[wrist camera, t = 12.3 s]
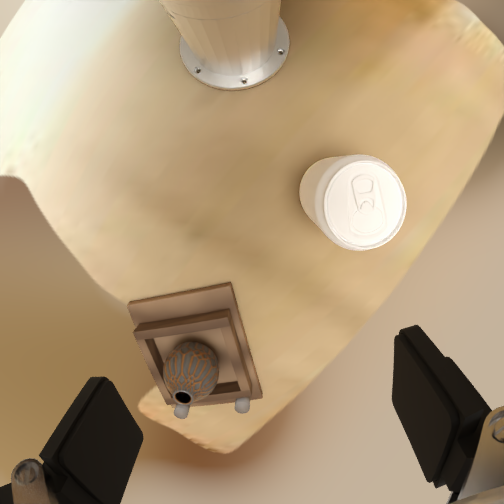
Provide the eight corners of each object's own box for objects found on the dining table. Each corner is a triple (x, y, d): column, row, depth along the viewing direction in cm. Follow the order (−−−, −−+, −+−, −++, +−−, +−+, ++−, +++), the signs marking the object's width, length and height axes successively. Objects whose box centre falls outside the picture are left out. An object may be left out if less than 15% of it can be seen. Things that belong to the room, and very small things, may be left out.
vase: (209, 382, 41) (199, 426, 32) (164, 361, 40) (145, 402, 31) (231, 348, 39) (224, 392, 30) (182, 324, 38) (164, 364, 30)
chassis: (130, 301, 39) (117, 315, 35) (230, 282, 38) (227, 296, 34) (174, 402, 44) (168, 420, 39) (262, 393, 42) (262, 412, 38)
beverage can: (304, 232, 36) (324, 263, 24) (292, 162, 34) (309, 160, 22) (369, 220, 35) (414, 246, 24) (360, 153, 33) (405, 149, 22)
